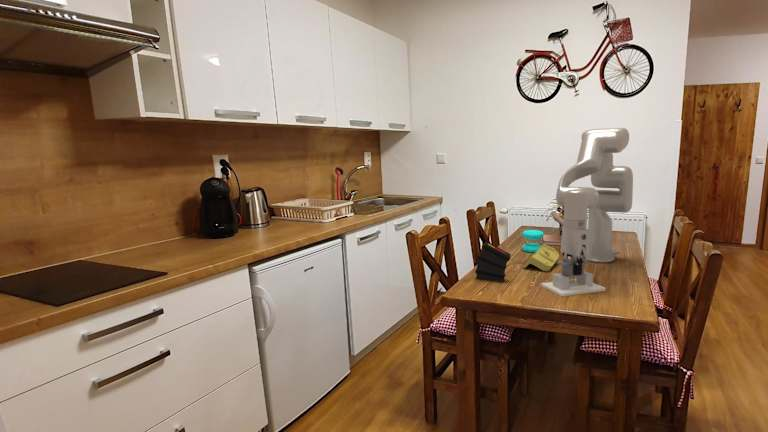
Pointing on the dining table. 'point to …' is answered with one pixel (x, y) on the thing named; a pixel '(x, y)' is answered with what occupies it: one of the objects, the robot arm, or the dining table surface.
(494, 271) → the black ridged block
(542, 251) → the plastic component
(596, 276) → the dining table surface
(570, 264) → the servo
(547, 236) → the case
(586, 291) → the cradle
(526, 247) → the cyan spool
